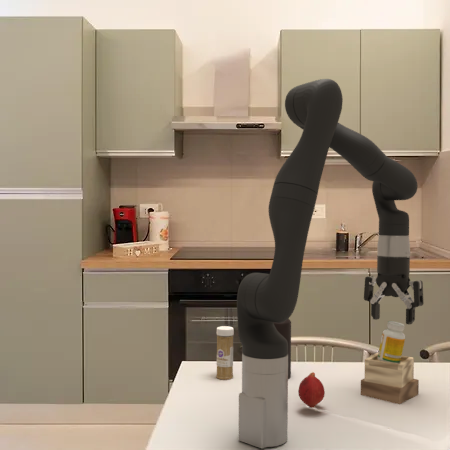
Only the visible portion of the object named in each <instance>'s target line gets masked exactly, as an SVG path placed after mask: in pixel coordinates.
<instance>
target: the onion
mask: <svg viewBox="0 0 450 450" xmlns="http://www.w3.org/2000/svg"><path fill="white" fill-rule="evenodd" d="M325 392H326V391H325V387H324V384H323V382H322V380H320V379H319V378H317V377H316V373H315V372H313V371H312V372H310V373H309V375H307V376H305V377H304V378H303V379H302V381H301V382H300V383H299V386H298V396H299V400H301V402H303V403H304V404H305V405H307V407H308V408H312V409H313V408H315V407H317V405H318V404H319V403H321V402H322V401H323V399H324V398H325V395H326V393H325Z"/></svg>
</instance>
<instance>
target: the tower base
mask: <svg viewBox="0 0 450 450" xmlns="http://www.w3.org/2000/svg"><path fill="white" fill-rule="evenodd" d="M419 381H420V380H419V379H417V378H414V379H413V380H411V381H410V382H409V383H408V384H406V385H405V386H404V387H402V388H400V387H394V386H389V385H383V384H377V383H372V382H366V381H365V378H362V379H360V396H364V397H367V398H372V399H376V400H380V401H384V402H389V403H393V404H397V405H400V404H403V403H405V402H407V401H408V400H410V399H413V398H415V397H416V396H418V395H419V390H420V388H419V384H420V382H419Z"/></svg>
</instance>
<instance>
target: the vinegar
mask: <svg viewBox="0 0 450 450" xmlns="http://www.w3.org/2000/svg"><path fill="white" fill-rule="evenodd" d="M273 323H274V326H275V328H276V329H277V331H278V332H279V333H280V334H281V335H282V336H283V337H284V338H285V339H286V340H287V342H288V380H289V379H290V378H291V377H292V320H291V319H290V317H289V318H288V319H287V320H286V321H284V322H281V323H275V322H273Z"/></svg>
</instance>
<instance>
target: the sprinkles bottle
mask: <svg viewBox="0 0 450 450" xmlns="http://www.w3.org/2000/svg"><path fill="white" fill-rule="evenodd" d="M234 330H235V329H234V327H232V326H227V325H221V326H217V327H216V376H215V377H216V378H217V380H223V381H225V380H226V381H227V380H231V379H233V378H234V374H233V372H234V333H235V331H234Z"/></svg>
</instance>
